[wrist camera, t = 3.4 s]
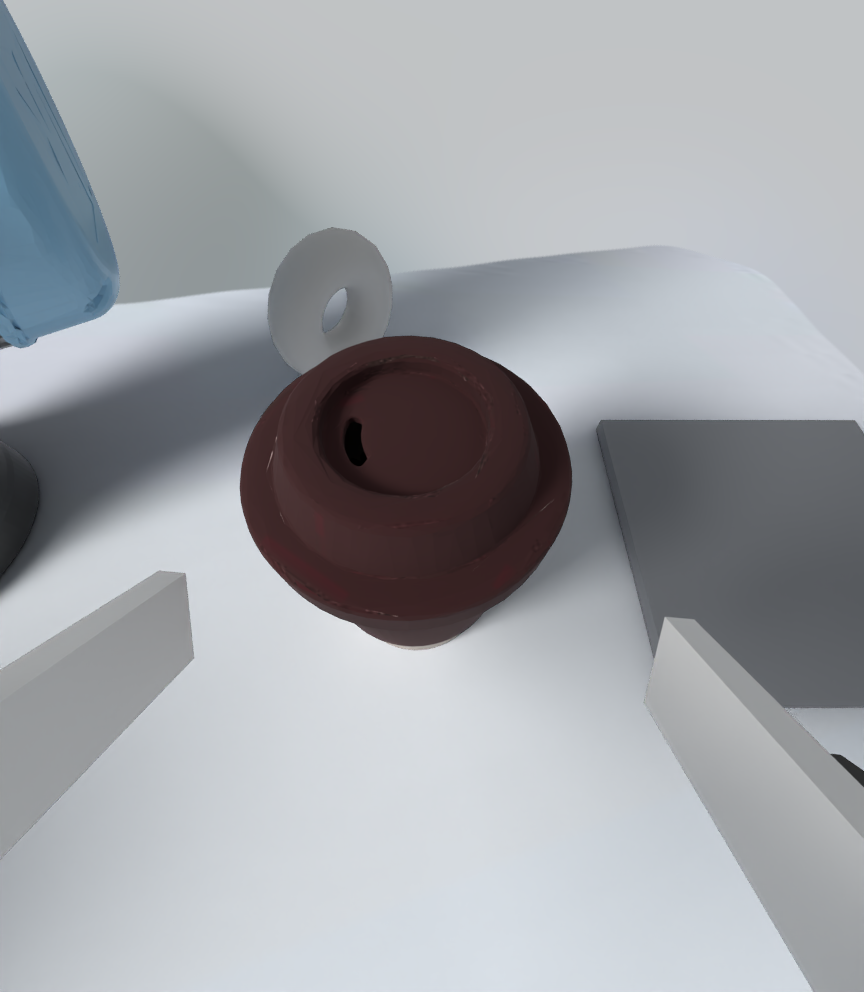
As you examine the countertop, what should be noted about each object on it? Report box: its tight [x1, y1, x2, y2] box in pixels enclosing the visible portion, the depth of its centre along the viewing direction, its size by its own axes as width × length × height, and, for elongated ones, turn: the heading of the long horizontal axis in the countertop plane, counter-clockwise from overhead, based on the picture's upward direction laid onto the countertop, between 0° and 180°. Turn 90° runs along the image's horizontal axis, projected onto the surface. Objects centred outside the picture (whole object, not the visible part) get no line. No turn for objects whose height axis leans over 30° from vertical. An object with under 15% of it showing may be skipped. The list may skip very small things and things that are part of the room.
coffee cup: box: [240, 336, 572, 650], centre depth 18 cm, size 10×10×15 cm
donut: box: [267, 227, 392, 375], centre depth 29 cm, size 10×4×10 cm, turn 139°
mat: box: [596, 420, 864, 708], centre depth 25 cm, size 18×18×1 cm
